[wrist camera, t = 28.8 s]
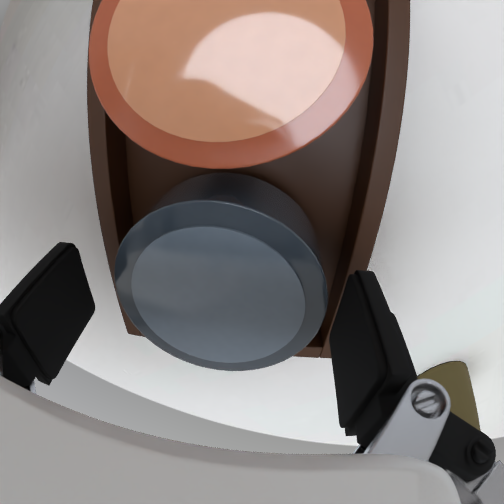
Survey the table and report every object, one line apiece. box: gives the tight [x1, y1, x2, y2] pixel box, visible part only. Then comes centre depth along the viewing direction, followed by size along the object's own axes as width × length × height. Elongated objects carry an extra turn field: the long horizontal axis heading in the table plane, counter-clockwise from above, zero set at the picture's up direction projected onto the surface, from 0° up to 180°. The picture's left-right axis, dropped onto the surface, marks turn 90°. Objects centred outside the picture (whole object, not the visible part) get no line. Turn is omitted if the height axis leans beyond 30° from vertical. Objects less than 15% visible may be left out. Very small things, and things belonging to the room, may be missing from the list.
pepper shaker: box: [417, 361, 480, 431], centre depth 13 cm, size 6×6×11 cm
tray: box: [87, 0, 410, 358], centre depth 10 cm, size 11×18×2 cm, turn 177°
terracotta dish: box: [89, 0, 373, 169], centre depth 7 cm, size 7×7×4 cm
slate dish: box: [114, 173, 328, 371], centre depth 11 cm, size 7×7×4 cm
